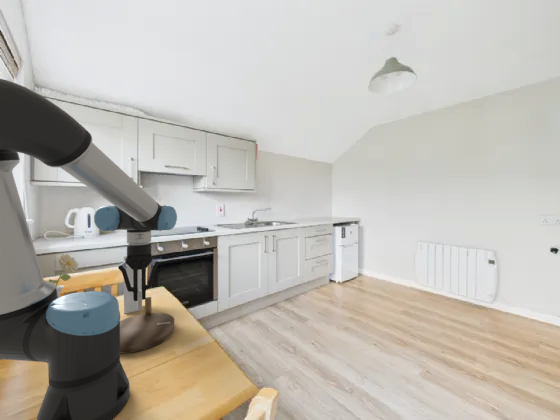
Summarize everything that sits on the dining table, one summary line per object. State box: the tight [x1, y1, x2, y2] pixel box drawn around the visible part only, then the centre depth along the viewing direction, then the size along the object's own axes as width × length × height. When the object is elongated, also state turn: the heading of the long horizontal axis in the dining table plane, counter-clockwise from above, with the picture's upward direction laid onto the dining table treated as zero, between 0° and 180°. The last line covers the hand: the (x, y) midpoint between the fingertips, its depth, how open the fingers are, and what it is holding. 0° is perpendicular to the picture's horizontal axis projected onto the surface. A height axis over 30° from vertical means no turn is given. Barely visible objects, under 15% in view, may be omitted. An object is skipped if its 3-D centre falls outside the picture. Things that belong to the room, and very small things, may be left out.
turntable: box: [120, 296, 176, 354], centre depth 80 cm, size 20×20×9 cm
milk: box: [123, 255, 141, 314], centre depth 99 cm, size 6×6×22 cm
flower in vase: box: [48, 253, 79, 297], centre depth 86 cm, size 13×11×25 cm
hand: (139, 308), depth 87 cm, fingers closed
